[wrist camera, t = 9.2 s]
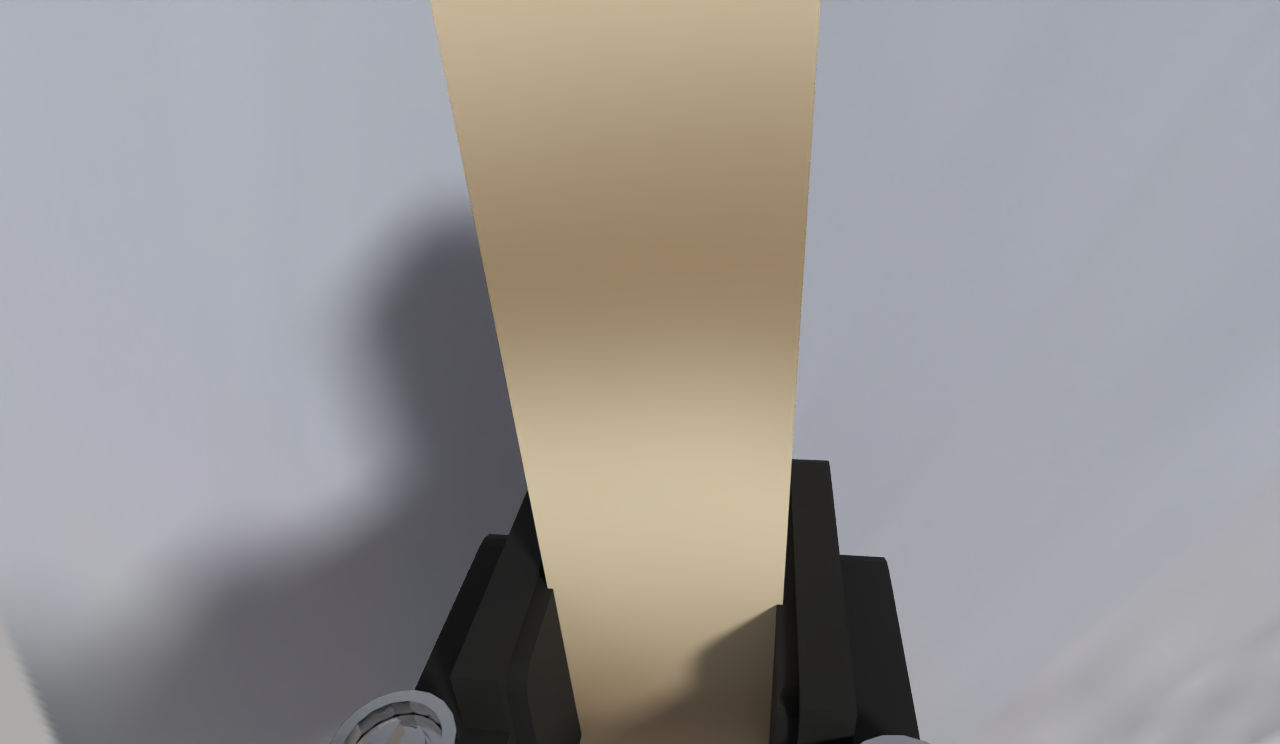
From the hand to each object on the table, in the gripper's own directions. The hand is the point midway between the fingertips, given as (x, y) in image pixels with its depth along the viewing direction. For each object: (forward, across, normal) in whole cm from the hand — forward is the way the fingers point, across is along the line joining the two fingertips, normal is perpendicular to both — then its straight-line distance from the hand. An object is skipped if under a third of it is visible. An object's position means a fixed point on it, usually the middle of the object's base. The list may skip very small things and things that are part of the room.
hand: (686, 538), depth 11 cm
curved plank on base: (+1, 0, +2) cm, 3 cm away
